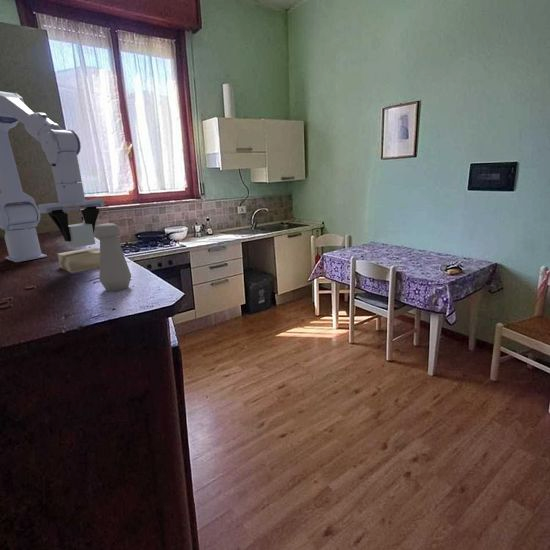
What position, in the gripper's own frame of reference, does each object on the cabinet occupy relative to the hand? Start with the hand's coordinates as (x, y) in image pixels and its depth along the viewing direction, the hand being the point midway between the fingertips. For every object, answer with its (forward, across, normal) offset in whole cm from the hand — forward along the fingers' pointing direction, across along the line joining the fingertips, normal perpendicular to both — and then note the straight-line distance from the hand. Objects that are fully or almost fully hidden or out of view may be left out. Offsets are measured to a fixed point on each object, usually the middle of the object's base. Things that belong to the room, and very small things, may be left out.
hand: (79, 239), depth 90 cm
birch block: (+7, 0, 0) cm, 7 cm away
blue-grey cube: (+2, 0, 0) cm, 2 cm away
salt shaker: (+7, -5, -26) cm, 27 cm away
